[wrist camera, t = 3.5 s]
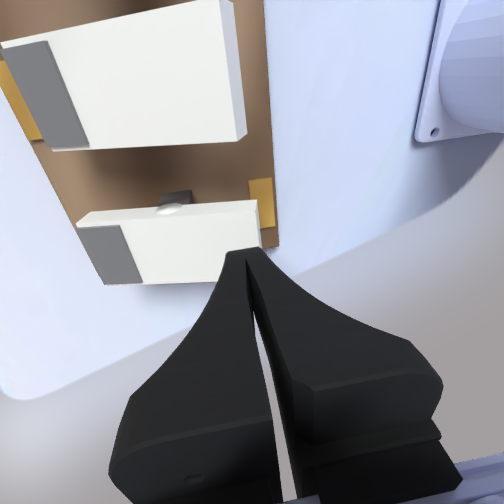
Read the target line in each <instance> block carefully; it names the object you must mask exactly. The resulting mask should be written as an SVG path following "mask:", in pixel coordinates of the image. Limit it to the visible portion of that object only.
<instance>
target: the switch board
mask: <svg viewBox="0 0 504 504" xmlns="http://www.w3.org/2000/svg"><path fill="white" fill-rule="evenodd" d="M191 1H196V0H0V42H5V41H9V40H14V39H18V38H23V37H28V36H32V35H37V34H42V33H46V32H51V31H56V30H60V29H65V28H70V27H74V26H79V25H84V24H88V23H93V22H98V21H102V20H107V19H112V18H116V17H121V16H126V15H130V14H135V13H140V12H144V11H149V10H154V9H158V8H163V7H168V6H172V5H177V4H182V3H186V2H191ZM228 1H230V2H232V3H233V7H234V16H235V25H236V34H237V43H238V52H239V62H240V71H241V80H242V89H243V98H244V107H245V116H246V125H247V134H246V135H245V136H244V137H242V138H241V139H240V140H238V141H236V142H218V143H200V144H182V145H163V146H145V147H127V148H109V149H91V150H73V151H55V152H53V151H52V149H51V147H47V146H46V144H45V142H44V140H43V138H42V136H41V133H40V131H39V129H38V127H37V125H36V123H35V121H34V119H33V117H32V115H31V113H30V111H29V109H28V107H27V105H26V103H25V101H24V99H23V97H22V95H21V93H20V91H19V89H18V87H17V85H16V82H15V80H14V78H13V76H12V74H11V72H10V70H9V68H8V66H7V64H6V62H5V60H4V58H3V56H2V54H1V52H0V87H1V89H2V91H3V93H4V95H5V96H6V98H7V100H8V102H9V104H10V106H11V108H12V110H13V112H14V114H15V116H16V118H17V120H18V122H19V123H20V125H21V127H22V129H23V131H24V133H25V135H26V137H27V139H28V141H29V142H30V144H31V146H32V148H33V150H34V152H35V154H36V155H37V157H38V159H39V161H40V163H41V165H42V167H43V169H44V171H45V173H46V175H47V177H48V179H49V181H50V182H51V184H52V186H53V188H54V190H55V192H56V194H57V196H58V198H59V200H60V202H61V204H62V206H63V208H64V209H65V211H66V213H67V215H68V217H69V219H70V221H71V223H72V225H73V227H74V229H75V231H76V228H78V227H77V225H76V224H75V223H77V222H78V221H79V220H81V219H82V218H83V217H84V216H86V215H87V214H88V213H90V212H94V211H107V210H121V209H134V208H148V207H160V206H162V205H165V204H170V203H179V204H181V205H188V204H202V203H216V202H229V201H243V200H256V199H257V205H258V214H259V224H260V233H261V243H262V249H265V248H271V247H277V246H279V236H278V221H277V205H276V190H275V174H274V159H273V143H272V128H271V113H270V97H269V82H268V66H267V51H266V35H265V20H264V4H263V0H228ZM0 49H3V47H2V45H1V43H0ZM76 233H77V231H76ZM77 235H78V233H77ZM78 236H79V235H78ZM79 238H80V237H79ZM80 240H81V239H80ZM81 242H82V241H81ZM82 244H83V243H82ZM83 246H84V245H83ZM84 248H85V246H84ZM85 250H86V248H85ZM86 252H87V250H86ZM87 254H88V252H87ZM88 256H89V254H88ZM89 258H90V256H89ZM90 260H91V258H90ZM91 262H92V260H91ZM92 263H93V262H92ZM93 265H94V264H93ZM94 267H95V266H94ZM95 269H96V268H95ZM96 271H97V270H96ZM97 273H98V272H97ZM98 275H99V274H98ZM99 276H100V275H99Z"/></svg>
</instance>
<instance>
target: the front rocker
mask: <svg viewBox="0 0 504 504" xmlns="http://www.w3.org/2000/svg"><path fill="white" fill-rule="evenodd" d="M0 43H1V45H2V47H3V49H0V52H1V54H2V56H3V58H4V60H5V62H6V64H7V66H8V68H9V70H10V72H11V74H12V76H13V78H14V80H15V82H16V85H17V87H18V89H19V91H20V93H21V95H22V97H23V99H24V101H25V103H26V105H27V107H28V109H29V111H30V113H31V115H32V117H33V119H34V121H35V123H36V125H37V127H38V129H39V131H40V133H41V136H42V138H43V140H44V142H45V144H46V146H47V147H51V149H52V151H53V152H55V151H73V150H91V149H109V148H127V147H145V146H163V145H182V144H200V143H218V142H236V141H238V140H240V139H241V138H242V137H244V136H245V135H246V134H247V125H246V116H245V107H244V98H243V89H242V80H241V71H240V62H239V52H238V43H237V34H236V25H235V16H234V7H233V3H232V2H230V1H228V0H196V1H191V2H186V3H182V4H177V5H172V6H168V7H163V8H158V9H154V10H149V11H144V12H140V13H135V14H130V15H126V16H121V17H116V18H112V19H107V20H102V21H98V22H93V23H88V24H84V25H79V26H74V27H70V28H65V29H60V30H56V31H51V32H46V33H42V34H37V35H32V36H28V37H23V38H18V39H14V40H9V41H5V42H0Z"/></svg>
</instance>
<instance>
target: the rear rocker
mask: <svg viewBox="0 0 504 504" xmlns="http://www.w3.org/2000/svg"><path fill="white" fill-rule="evenodd" d="M75 224H76V225H77V227H78V228H76V231H77V233H78V235H79V237H80V239H81V241H82V243H83V245H84V246H85V248H86V250H87V252H88V254H89V256H90V258H91V260H92V262H93V264H94V266H95V268H96V270H97V272H98V274H99V275H100V277H101V279H102V281H103V283H104V285H107V286H117V285H142V284H167V283H192V282H217V281H218V279H219V276H220V274H221V271H222V268H223V264H224V260H225V254H226V253H227V252H228V251H233V250H239V249H245V248H251V247H257V246H259V247H260V248H261V249H262V243H261V233H260V224H259V214H258V205H257V199H256V200H243V201H229V202H216V203H202V204H188V205H181V204H179V203H170V204H165V205H162V206H160V207H148V208H134V209H121V210H107V211H94V212H90V213H88V214H87V215H86V216H84V217H83V218H82V219H81V220H79V221H78V222H77V223H75Z"/></svg>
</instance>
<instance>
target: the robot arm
mask: <svg viewBox="0 0 504 504" xmlns="http://www.w3.org/2000/svg"><path fill="white" fill-rule="evenodd" d="M434 128H435V131H434V133H433V134H432V135H431V131H432V130H433V129H434ZM493 132H498V133H503V134H504V0H441V3H440V8H439V13H438V18H437V23H436V28H435V33H434V39H433V44H432V49H431V54H430V59H429V64H428V69H427V74H426V79H425V84H424V89H423V94H422V99H421V104H420V109H419V114H418V119H417V124H416V129H415V140H416V141H418V142H421V143H426V142H433V141H439V140H446V139H453V138H459V137H466V136H473V135H479V134H486V133H493ZM253 311H254V314H253ZM254 315H255V318H256V321H257V324H258V328H259V331H260V334H261V337H262V341H263V344H264V347H265V350H266V353H267V356H268V360H269V364H270V368H271V372H272V377H273V381H274V386H275V391H276V396H277V400H278V405H279V410H280V415H281V420H282V424H283V429H284V434H285V439H286V444H287V449H288V454H289V459H290V464H291V469H292V474H293V479H294V484H295V489H296V494H297V499H295V500H290V501H286V502H283V497H282V489H281V481H280V472H279V464H278V456H277V449H276V442H275V434H274V427H273V419H272V413H271V408H270V403H269V398H268V393H267V388H266V383H265V379H264V374H263V370H262V365H261V361H260V356H259V352H258V347H257V342H256V337H255V326H254ZM442 390H443V383H442V379H441V378H440V376H439V375H438V374H437V372H436V371H435V370H434V369H433V367H432V366H431V365H430V363H429V362H428V361H427V360H426V358H425V357H424V356H423V355H422V354H421V353H420V352H419V351H418V350H417V349H416V348H415V346H414V345H413V344H412V343H411V342H410V341H408V340H406V339H403V338H400V337H398V336H394V335H392V334H389V333H387V332H384V331H381V330H379V329H376V328H373V327H371V326H369V325H366V324H364V323H362V322H360V321H357V320H355V319H353V318H351V317H349V316H347V315H345V314H343V313H341V312H339V311H337V310H335V309H334V308H332V307H330V306H328V305H326V304H325V303H323V302H321V301H320V300H318V299H317V298H315V297H314V296H312V295H311V294H309V293H308V292H306V291H305V290H304V289H302V288H301V287H300V286H299V285H297V284H296V283H295V282H294V281H293V280H291V279H290V278H289V277H288V276H287V275H286V274H285V273H284V272H283V271H281V270H280V269H279V268H278V267H277V266H276V265H275V264H274V263H273V262H272V261H271V259H270V258H269V257H268V256H267V255H266V254H265V253H264V251H263V250H262V249H261V248H260V247H259V246H257V247H251V248H245V249H239V250H233V251H228V252H227V253H226V254H225V260H224V264H223V268H222V271H221V274H220V276H219V279H218V281H217V284H216V286H215V288H214V291H213V293H212V295H211V297H210V299H209V301H208V303H207V305H206V306H205V308H204V310H203V312H202V313H201V315H200V317H199V318H198V320H197V321H196V323H195V324H194V326H193V327H192V329H191V330H190V331H189V333H188V334H187V336H186V337H185V338H184V340H183V341H182V342H181V343H180V345H179V346H178V347H177V348H176V349H175V351H174V352H173V353H172V354H171V355H170V356H169V358H168V359H167V360H166V361H165V362H164V363H163V365H162V366H161V367H160V368H159V369H158V370H157V371H156V372H155V373H154V374H153V375H152V376H151V377H150V378H149V379H148V380H147V381H146V382H145V383H144V384H143V385H142V386H141V387H140V388H139V389H138V390H137V391H135V392H134V393H133V394H132V395H131V396H130V398H129V401H128V404H127V406H126V409H125V411H124V414H123V417H122V420H121V422H120V425H119V428H118V432H117V436H116V440H115V444H114V448H113V452H112V456H111V460H110V464H109V473H108V475H109V477H110V478H111V480H112V482H113V483H114V485H115V486H116V487H117V488H118V489H119V490H120V491H121V492H122V493H123V494H124V495H125V496H126V497H127V498H128V499H129V500H130V501H131V502H132V503H133V504H504V452H503V453H499V454H494V455H490V456H486V457H481V458H477V459H472V460H468V461H463V462H459V463H454V464H453V462H452V461H451V459H450V457H449V456H448V454H447V453H446V451H445V450H444V448H443V447H442V445H441V443H440V442H439V440H440V439H441V437H442V436H441V433H440V431H439V430H438V428H437V427H436V425H435V423H434V422H433V420H432V419H431V417H432V415H433V413H434V411H435V409H436V407H437V405H438V403H439V400H440V398H441V394H442Z"/></svg>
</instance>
